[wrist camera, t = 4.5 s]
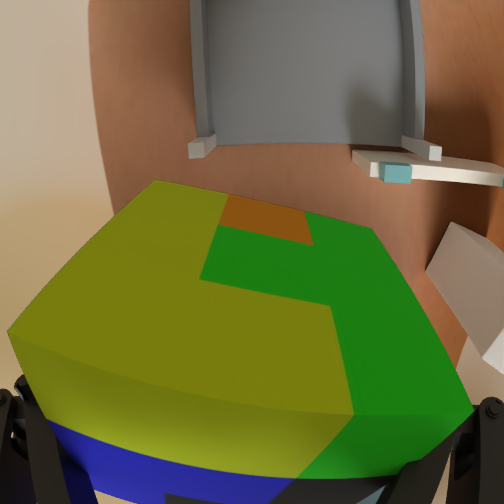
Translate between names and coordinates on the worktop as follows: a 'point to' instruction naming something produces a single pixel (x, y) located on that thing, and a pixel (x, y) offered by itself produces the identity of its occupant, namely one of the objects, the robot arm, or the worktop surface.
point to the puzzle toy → (236, 356)
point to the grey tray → (308, 73)
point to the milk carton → (473, 288)
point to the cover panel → (426, 168)
